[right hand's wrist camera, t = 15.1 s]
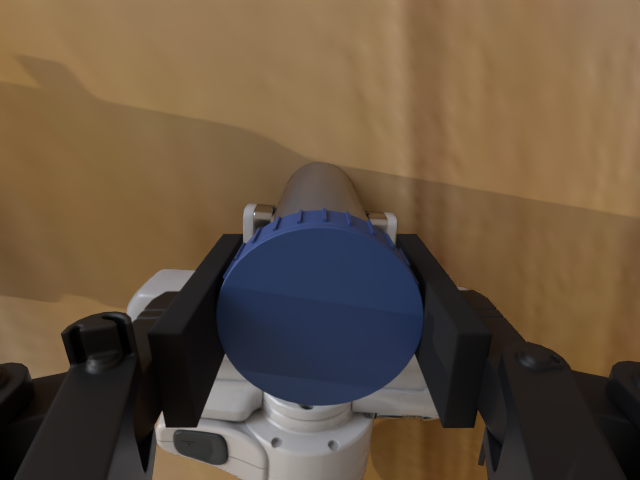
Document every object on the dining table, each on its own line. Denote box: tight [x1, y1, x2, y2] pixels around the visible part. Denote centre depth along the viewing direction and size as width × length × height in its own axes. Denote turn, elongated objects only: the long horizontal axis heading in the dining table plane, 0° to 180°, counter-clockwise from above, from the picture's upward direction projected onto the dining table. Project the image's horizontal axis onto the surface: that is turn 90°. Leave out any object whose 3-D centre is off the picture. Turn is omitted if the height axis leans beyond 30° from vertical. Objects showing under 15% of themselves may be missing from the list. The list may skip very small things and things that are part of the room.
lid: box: [216, 208, 424, 406], centre depth 11 cm, size 6×6×2 cm
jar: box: [270, 163, 369, 223], centre depth 18 cm, size 5×5×15 cm
